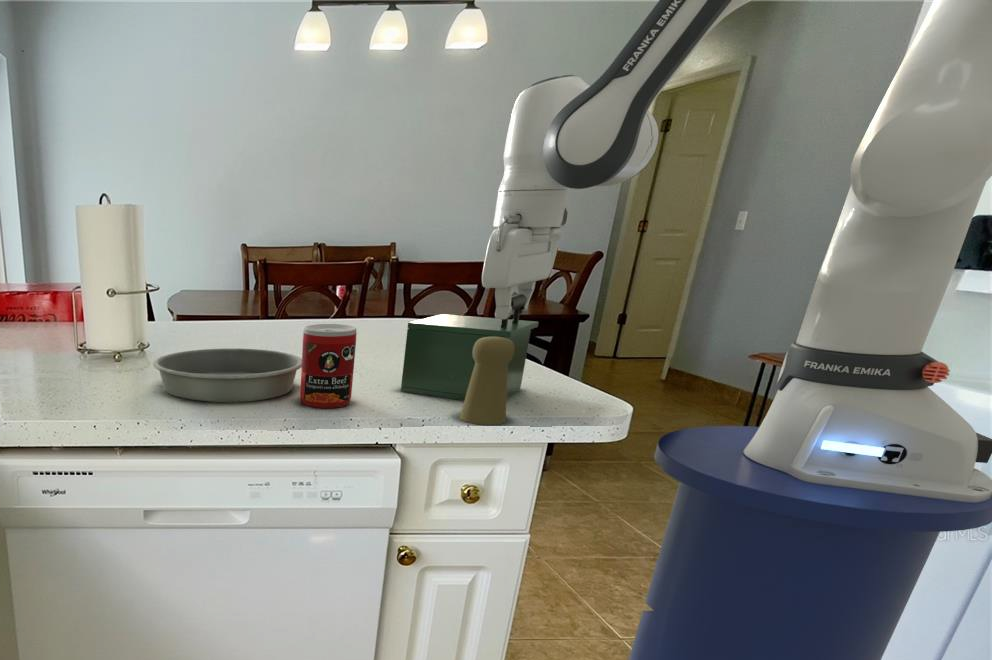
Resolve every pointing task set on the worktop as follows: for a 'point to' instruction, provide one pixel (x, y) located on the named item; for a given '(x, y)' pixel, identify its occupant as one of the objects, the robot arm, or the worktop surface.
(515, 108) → the robot arm
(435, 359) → the waste bin
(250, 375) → the cake pan
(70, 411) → the worktop surface
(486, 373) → the tan pawn
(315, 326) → the canned food
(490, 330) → the bin lid
